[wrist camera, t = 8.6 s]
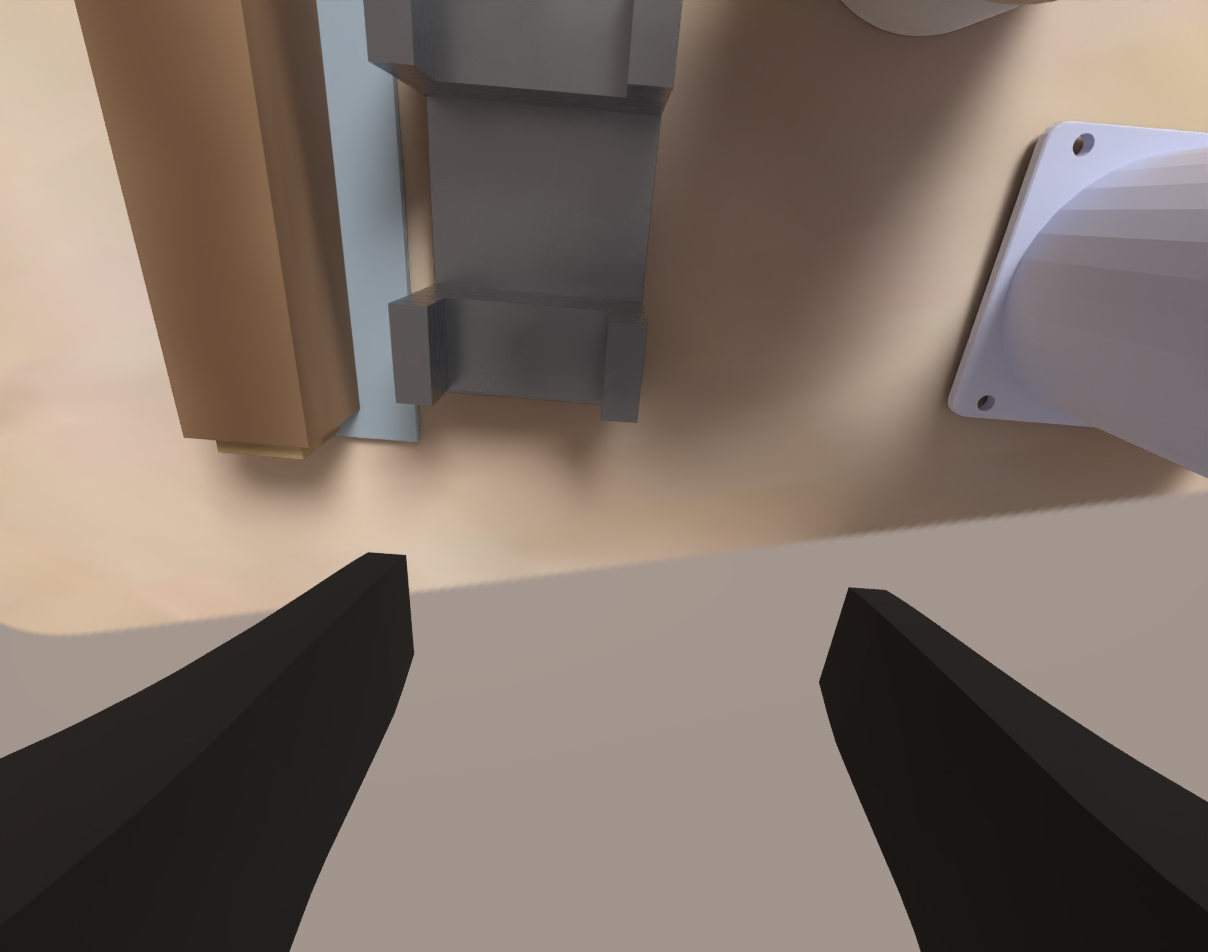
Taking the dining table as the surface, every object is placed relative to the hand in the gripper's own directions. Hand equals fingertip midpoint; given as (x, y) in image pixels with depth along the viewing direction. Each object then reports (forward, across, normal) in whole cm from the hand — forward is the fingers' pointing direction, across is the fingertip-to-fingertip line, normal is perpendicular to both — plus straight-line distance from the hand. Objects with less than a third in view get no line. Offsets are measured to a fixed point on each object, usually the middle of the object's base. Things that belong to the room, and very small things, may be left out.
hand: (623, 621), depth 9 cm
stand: (+10, +3, -6) cm, 12 cm away
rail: (+10, +10, -6) cm, 15 cm away
